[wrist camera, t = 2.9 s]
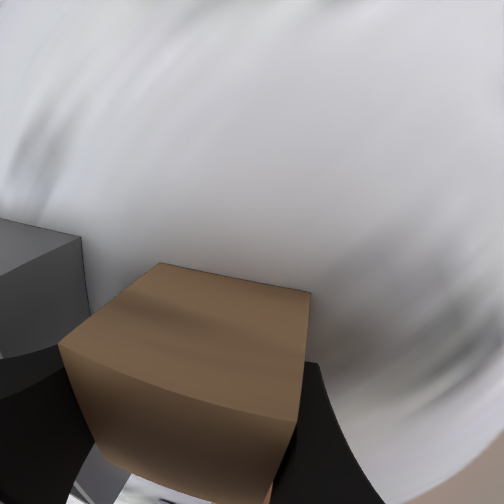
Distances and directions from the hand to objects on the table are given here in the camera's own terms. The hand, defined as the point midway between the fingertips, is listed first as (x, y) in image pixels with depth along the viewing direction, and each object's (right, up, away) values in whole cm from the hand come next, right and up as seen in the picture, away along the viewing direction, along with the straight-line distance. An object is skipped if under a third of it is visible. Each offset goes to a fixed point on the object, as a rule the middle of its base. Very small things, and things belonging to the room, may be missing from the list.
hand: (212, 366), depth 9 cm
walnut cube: (0, 0, +1) cm, 1 cm away
